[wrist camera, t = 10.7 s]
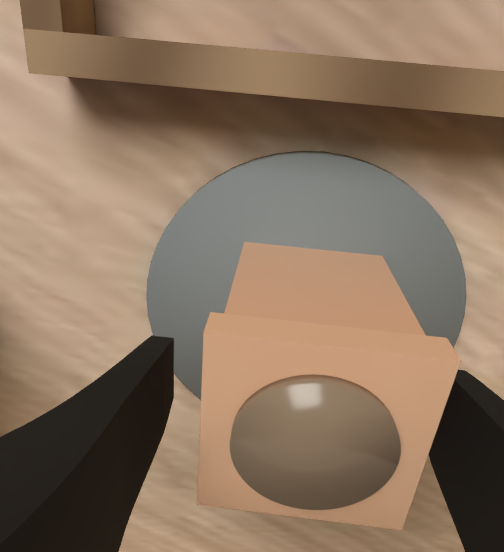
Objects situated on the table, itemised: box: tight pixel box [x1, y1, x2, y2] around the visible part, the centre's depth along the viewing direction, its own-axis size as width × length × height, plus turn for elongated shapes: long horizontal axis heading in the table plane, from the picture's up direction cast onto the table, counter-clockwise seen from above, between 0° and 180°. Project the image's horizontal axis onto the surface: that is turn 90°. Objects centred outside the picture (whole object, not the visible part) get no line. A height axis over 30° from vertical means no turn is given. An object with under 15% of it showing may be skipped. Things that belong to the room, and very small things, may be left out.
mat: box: [147, 151, 466, 400], centre depth 15 cm, size 11×11×1 cm
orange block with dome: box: [197, 242, 461, 530], centre depth 12 cm, size 5×5×6 cm
